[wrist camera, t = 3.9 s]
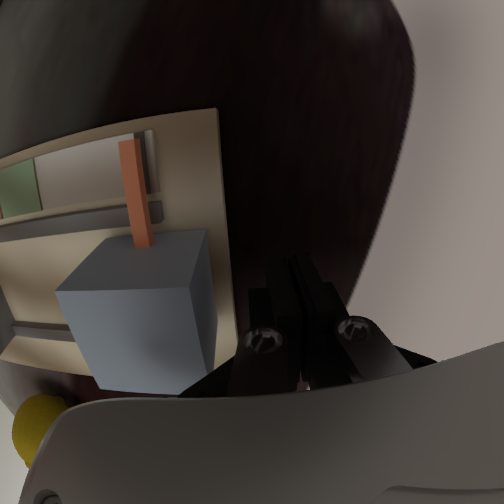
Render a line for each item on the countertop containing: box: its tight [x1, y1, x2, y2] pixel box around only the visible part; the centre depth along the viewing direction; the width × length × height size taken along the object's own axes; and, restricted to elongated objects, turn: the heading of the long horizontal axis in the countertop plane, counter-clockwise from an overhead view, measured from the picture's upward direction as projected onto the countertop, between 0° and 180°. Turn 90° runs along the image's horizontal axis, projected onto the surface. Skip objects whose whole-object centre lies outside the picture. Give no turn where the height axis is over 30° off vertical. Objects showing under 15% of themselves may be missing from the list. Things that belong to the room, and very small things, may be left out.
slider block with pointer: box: [55, 138, 218, 394], centre depth 10 cm, size 8×4×4 cm, turn 3°
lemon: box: [12, 394, 69, 469], centre depth 15 cm, size 6×6×8 cm
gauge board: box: [0, 108, 238, 376], centre depth 12 cm, size 14×20×5 cm
